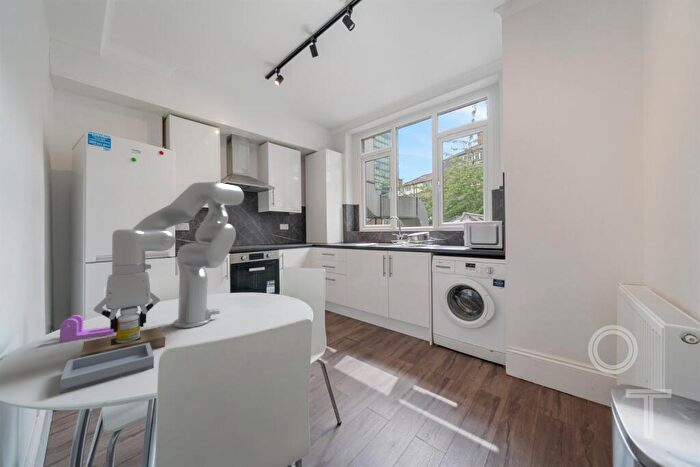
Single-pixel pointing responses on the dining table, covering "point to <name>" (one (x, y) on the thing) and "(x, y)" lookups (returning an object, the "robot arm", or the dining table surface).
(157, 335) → the socket holder
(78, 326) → the bracket
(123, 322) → the supplement bottle
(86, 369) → the parts tray
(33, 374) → the dining table surface
